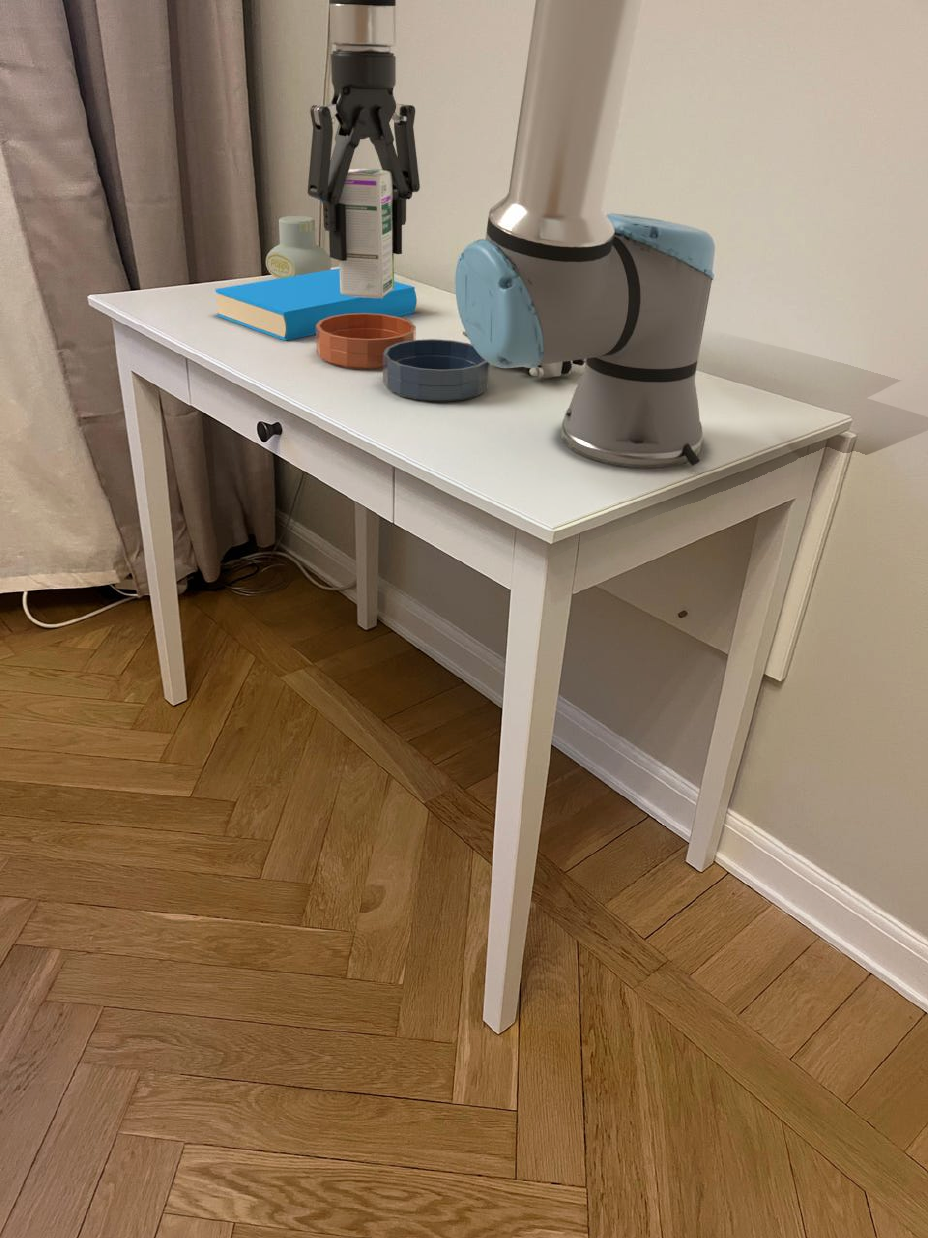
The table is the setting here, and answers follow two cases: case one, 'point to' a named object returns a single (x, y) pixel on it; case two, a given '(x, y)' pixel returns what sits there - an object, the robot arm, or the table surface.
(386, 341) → the terracotta bowl
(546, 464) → the table surface
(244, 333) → the table surface
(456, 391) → the slate bowl
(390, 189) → the syrup box
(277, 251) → the air freshener
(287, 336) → the book
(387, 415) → the table surface
